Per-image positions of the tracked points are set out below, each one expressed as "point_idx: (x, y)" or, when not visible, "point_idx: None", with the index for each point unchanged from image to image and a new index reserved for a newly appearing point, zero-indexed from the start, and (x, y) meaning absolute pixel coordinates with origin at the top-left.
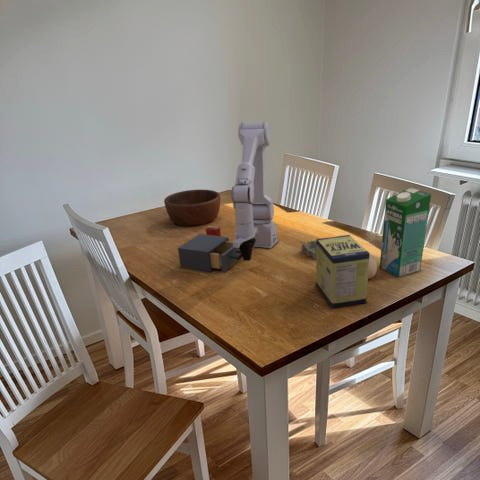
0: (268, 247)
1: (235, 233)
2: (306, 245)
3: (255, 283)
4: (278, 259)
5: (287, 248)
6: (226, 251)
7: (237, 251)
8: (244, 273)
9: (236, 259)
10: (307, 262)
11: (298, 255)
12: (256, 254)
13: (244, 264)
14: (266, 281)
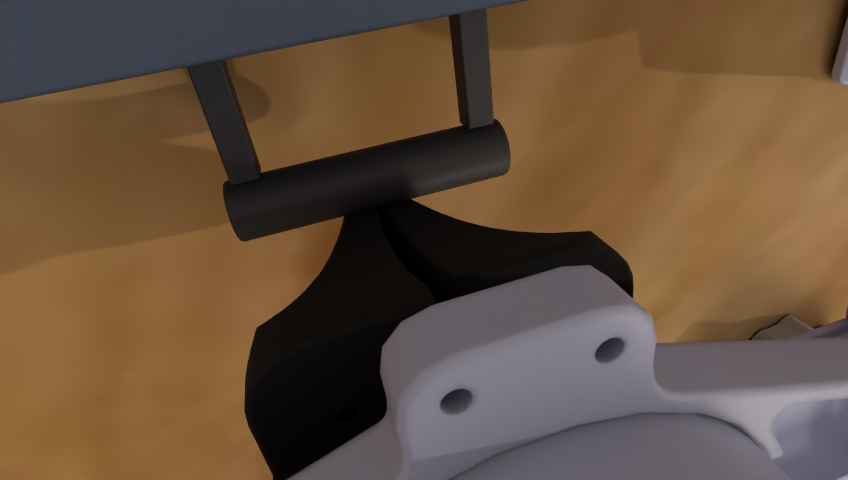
0: (840, 68)
1: (514, 377)
2: None
3: (135, 445)
4: None
5: (830, 205)
6: (117, 10)
7: (456, 28)
8: (228, 246)
9: (228, 185)
10: None
11: (714, 340)
12: (689, 39)
13: (417, 92)
14: (231, 468)
